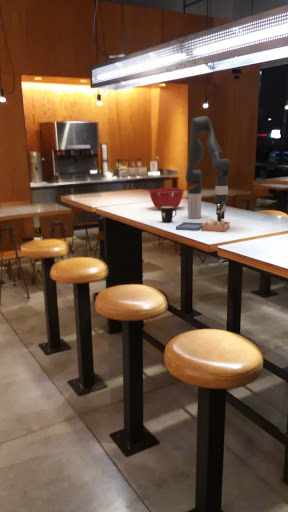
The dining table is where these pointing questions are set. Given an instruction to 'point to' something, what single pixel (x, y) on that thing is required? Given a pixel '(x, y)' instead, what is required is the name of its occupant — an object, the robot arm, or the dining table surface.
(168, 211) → the coffee mug
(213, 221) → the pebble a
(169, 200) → the mixing bowl
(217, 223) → the pebble
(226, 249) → the dining table surface
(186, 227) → the parts tray
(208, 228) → the wooden tray
